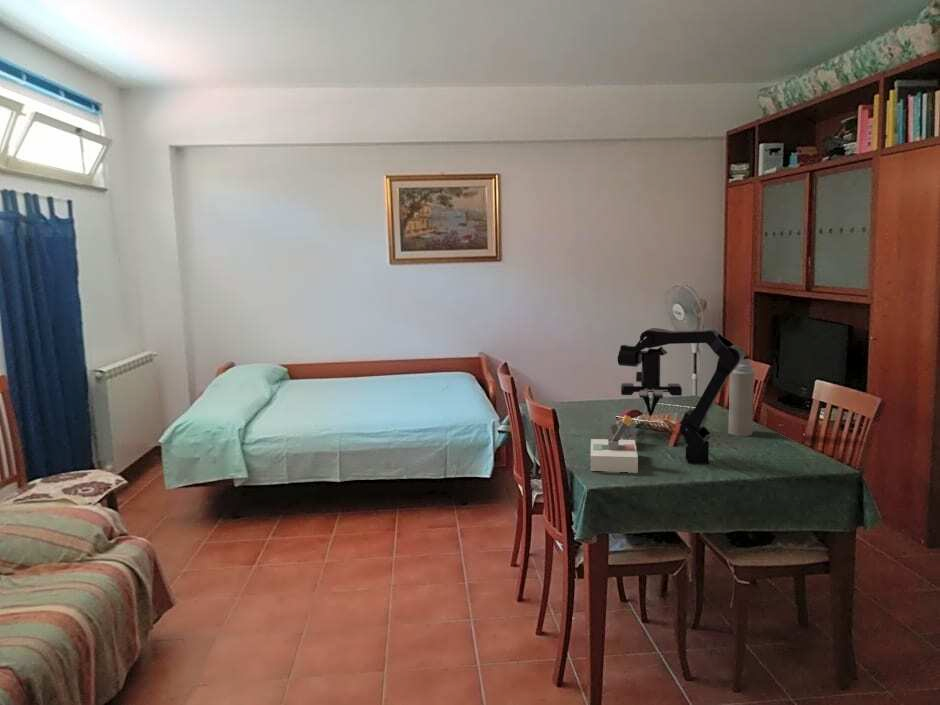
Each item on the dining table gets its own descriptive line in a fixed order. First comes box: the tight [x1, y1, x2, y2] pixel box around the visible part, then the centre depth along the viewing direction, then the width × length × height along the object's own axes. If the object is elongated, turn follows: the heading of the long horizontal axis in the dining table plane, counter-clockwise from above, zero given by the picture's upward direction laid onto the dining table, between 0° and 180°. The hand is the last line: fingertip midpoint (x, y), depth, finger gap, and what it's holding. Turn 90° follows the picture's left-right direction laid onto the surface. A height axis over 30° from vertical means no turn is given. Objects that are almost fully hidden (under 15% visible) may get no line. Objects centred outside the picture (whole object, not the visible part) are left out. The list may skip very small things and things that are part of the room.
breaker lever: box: [610, 414, 634, 442], centre depth 223 cm, size 2×3×10 cm
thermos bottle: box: [727, 354, 755, 437], centre depth 251 cm, size 8×8×28 cm
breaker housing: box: [590, 437, 639, 474], centre depth 225 cm, size 14×18×8 cm
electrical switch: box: [610, 415, 638, 444], centre depth 244 cm, size 9×5×9 cm, turn 141°
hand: (650, 415), depth 231 cm, fingers closed
